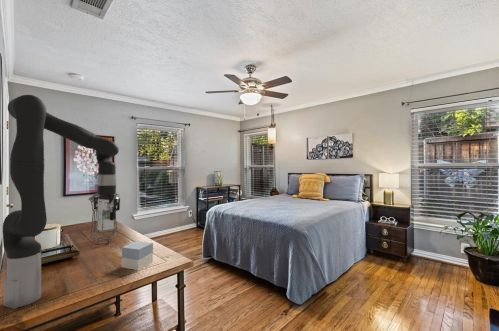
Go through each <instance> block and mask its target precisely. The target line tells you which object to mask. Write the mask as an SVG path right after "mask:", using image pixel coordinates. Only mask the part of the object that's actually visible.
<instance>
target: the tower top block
mask: <svg viewBox="0 0 499 331" xmlns="http://www.w3.org/2000/svg"><path fill="white" fill-rule="evenodd" d="M151 253H154V243H153V242H147V241H139V240H138V241H137V240H136V241H134V242H132V243H130V244H129V243H128V244H126V245H124V246H122V247H121V259H122V258H129V259H135V260H140V259H142V258H144V257H146V256H147V255H149V254H151Z"/></svg>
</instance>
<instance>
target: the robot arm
mask: <svg viewBox="0 0 499 331" xmlns="http://www.w3.org/2000/svg"><path fill="white" fill-rule="evenodd" d="M7 111H8V114H10V116H11V117H12V118H13V119H15V121H16V122H15V123H16V135H15V139H14V142H13V144H12V149H11V152H10V158H9V175H10V179H11V181H12V183H13V185H14V187H15V188H16V191H17V192H18V194H19V197H20V204H21V206H20V208H21V209H17V210H14V211H11V212H10V213H8V215H6V217H5V218H4V220H3V223H2V246H3V249H4V251H5V253H6V278H4V279H3V307H5V308H6V307H7V308H10V309H12V310H15V309H17V308H18V309H19V308H20V307H25V306H27V305H28V306H29V305H31V304H33V303H35V302H37V301H38V300H40V299H41V297H42V245H41V243H40V242H38V240H36V239H35V237H37V236H39V235H40V234H41V233H42V232H43V231H44V230H45V228H46V226H47V221H48V220H47V218H48V216H47V209H46V202H45V183H44V182H45V179H44V178H45V143H44V130H47V131H49V132H52V133H54V134H57V135H58V136H61V137H63V138H65V139H66V140H69V141H71V142H73V143H76V144H77V145H79V146H82V147H84V148H87V149H92V150H94V151H95V157H96V161H97V165H98V169H97V182H96V183H97V190H96V193H97V194H98V195H99V196H95V197H94V202H93V210H94V209H95V210H97V215H98V199H105V200H109V203H111V202H112V200H113V202H114V204H113V205H110V204H109V203H108V202H107V207H108V208H109V210H110V220H115V218H116V219H117V212H118V211H120V209H121V197H118V198H115V197H114V195H116V193H117V176H116V172H117V170H116V168H117V167H116V163H115V162H113V159H112V157H114V156H116V155H118V153H119V151H120V150H119V146H118V144H117V143H116V142H114V141H112V140H110V139H107V138H106V137H102V136H100V135H98V134H97V135H96V134H95V133H94V132H91V131H90V130H87V129H86V128H84V127H82V126H80V125H77V124H74V123H72V122H69V121H66V120H63V119H61V118H59V117H57V116H54V115H53V114H50V113H49V112H48V111H47V108H46V105H45V103H44V101H43V100H42V99H41V98H39V97H38V96H36V95H33V94H23V95H19V96H17V97H15V98H13V99H12V100H10V101H9V102H8V104H7ZM96 204H97V205H96ZM112 207H113V209H112Z"/></svg>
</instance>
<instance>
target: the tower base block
mask: <svg viewBox="0 0 499 331" xmlns="http://www.w3.org/2000/svg"><path fill="white" fill-rule="evenodd" d="M153 253H154V252H153ZM153 253H151V254H149V255H147V256H146V257H144V258H142V259H140V260H135V259H129V258H122V257H121V268H123V269H130V270H135V271H139V270H142V268H145V267H146V266H148V265H150V264H152V263H153V262H154V258H153V257H154V254H153Z"/></svg>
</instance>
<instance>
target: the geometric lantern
mask: <svg viewBox="0 0 499 331" xmlns="http://www.w3.org/2000/svg"><path fill="white" fill-rule="evenodd" d="M98 196H99V195H98V194H97V192H96V193H94V194H93V195H91V196H90V197H89V198H88V201H90V204H91V210H92V217H91V229H90V236H89V238H90V239H91V240H92V241H94V242H95V244H96V245H101V244H102V245H104V244H106V242H105V241H108V244H110V243H112V239H113V238H114V237H116V235H117V233H118V229H117V228H118V226H117V217H116V218H115V229H113V230H107V233H109V235H105V236H104V237H102V236H100V235H99V234H102V233H106V231H100V230H98V229H97V215H98V214H97V210H96V209H94V197H98ZM114 197H115V198H120V194H118V193H117V192H116V194H114ZM96 206H98V205H97V204H96ZM96 229H97V230H98V231H97V232H96ZM96 234H97V235H96ZM98 242H102V243H98Z"/></svg>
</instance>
